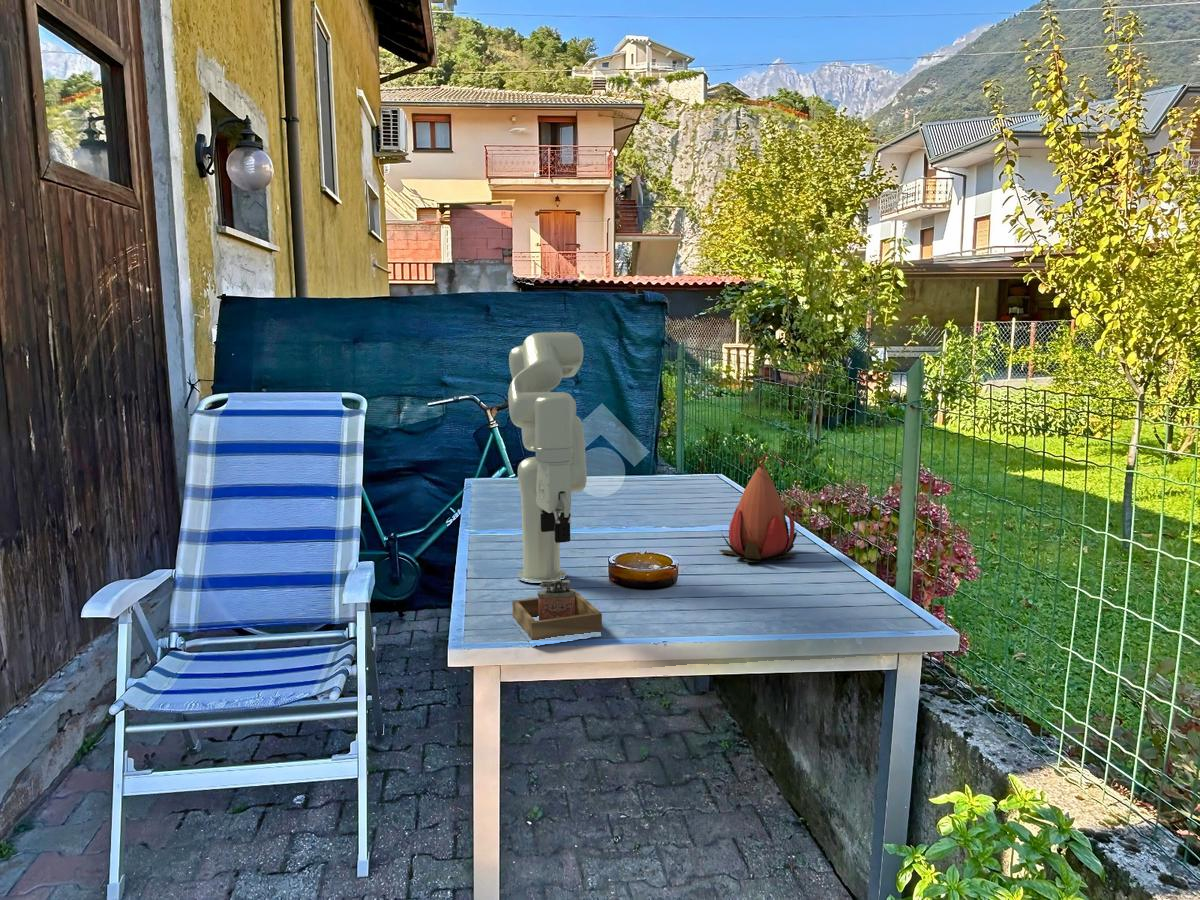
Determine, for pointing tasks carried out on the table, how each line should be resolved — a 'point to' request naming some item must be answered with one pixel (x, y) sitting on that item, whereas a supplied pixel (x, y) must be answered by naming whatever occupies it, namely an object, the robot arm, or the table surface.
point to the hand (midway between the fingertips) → (555, 536)
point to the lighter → (556, 600)
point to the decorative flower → (761, 521)
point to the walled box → (557, 619)
